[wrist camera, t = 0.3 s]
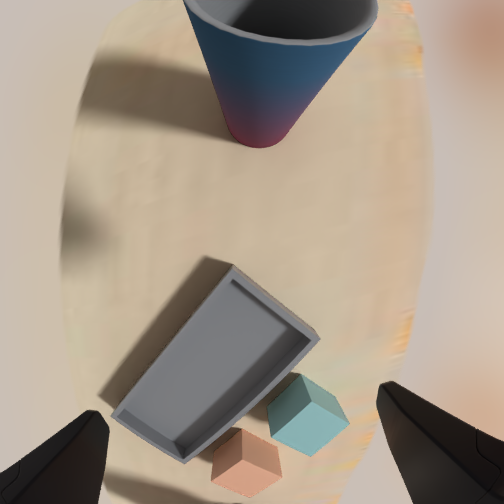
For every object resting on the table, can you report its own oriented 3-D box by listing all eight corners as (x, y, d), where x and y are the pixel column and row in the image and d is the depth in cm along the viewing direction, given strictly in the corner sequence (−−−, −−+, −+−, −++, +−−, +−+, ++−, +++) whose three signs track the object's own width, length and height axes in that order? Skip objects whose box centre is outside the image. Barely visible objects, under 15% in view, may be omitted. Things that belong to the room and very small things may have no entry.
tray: (187, 450, 23) (184, 464, 21) (118, 404, 23) (110, 416, 21) (313, 329, 23) (320, 338, 20) (233, 264, 22) (232, 268, 20)
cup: (293, 168, 21) (378, 74, 6) (206, 150, 21) (149, 32, 6) (307, 93, 21) (375, -36, 6) (226, 76, 21) (212, -67, 6)
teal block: (301, 426, 24) (310, 456, 19) (266, 406, 23) (270, 437, 19) (334, 396, 23) (349, 423, 19) (300, 373, 23) (311, 401, 19)
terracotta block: (248, 468, 24) (249, 497, 20) (214, 450, 24) (210, 481, 19) (277, 446, 24) (282, 477, 19) (242, 428, 23) (242, 459, 19)
